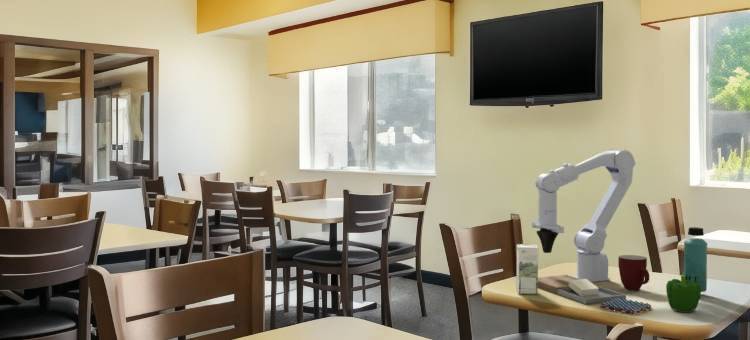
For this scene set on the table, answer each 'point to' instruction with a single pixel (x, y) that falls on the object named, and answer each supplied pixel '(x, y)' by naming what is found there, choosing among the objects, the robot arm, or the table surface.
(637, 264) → the mug
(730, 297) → the table surface
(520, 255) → the syrup box
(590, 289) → the tile
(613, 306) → the woven mat
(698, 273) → the beverage bottle
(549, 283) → the brown square board
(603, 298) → the tray
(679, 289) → the bell pepper
